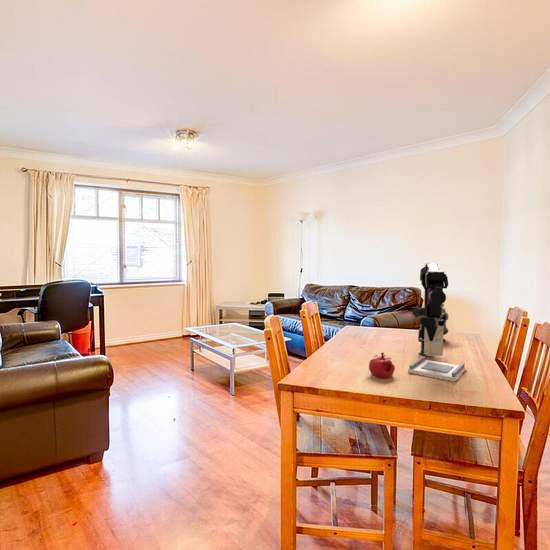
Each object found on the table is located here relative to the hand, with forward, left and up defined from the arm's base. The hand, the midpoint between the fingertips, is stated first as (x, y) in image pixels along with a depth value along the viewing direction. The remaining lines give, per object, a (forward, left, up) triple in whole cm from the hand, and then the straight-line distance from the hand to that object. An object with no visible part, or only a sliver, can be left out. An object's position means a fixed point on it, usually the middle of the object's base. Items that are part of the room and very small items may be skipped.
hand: (433, 339), depth 161 cm
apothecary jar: (-57, -14, -13) cm, 60 cm away
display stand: (0, +2, -13) cm, 13 cm away
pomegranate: (+19, -14, -13) cm, 27 cm away
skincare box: (0, 0, -7) cm, 7 cm away
